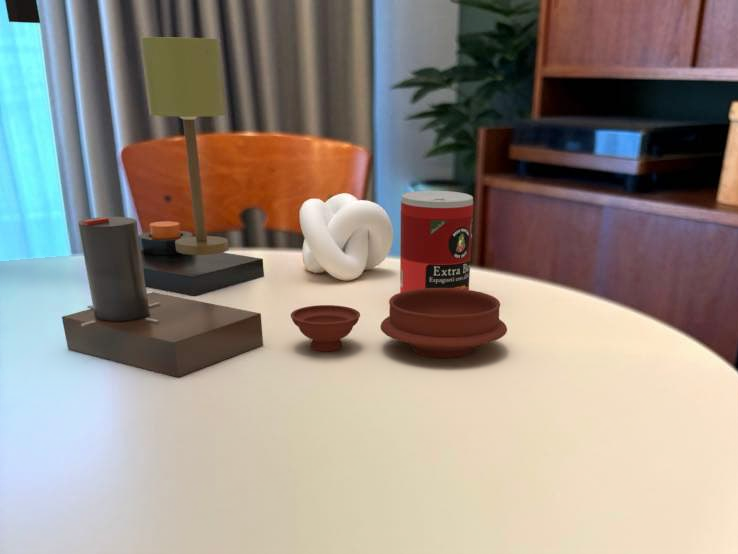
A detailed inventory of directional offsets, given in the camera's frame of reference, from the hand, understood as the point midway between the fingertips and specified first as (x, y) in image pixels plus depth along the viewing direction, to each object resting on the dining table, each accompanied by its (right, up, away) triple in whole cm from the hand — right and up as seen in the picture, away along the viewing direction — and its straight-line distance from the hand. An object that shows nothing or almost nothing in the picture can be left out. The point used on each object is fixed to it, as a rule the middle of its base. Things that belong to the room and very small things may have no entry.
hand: (24, 22), depth 87 cm
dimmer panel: (+18, -36, -10) cm, 42 cm away
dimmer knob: (+14, -34, -11) cm, 38 cm away
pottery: (+39, -36, -9) cm, 54 cm away
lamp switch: (+10, -17, +17) cm, 26 cm away
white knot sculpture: (+32, -21, +16) cm, 42 cm away
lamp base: (+13, -22, +14) cm, 29 cm away
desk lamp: (+16, -21, +9) cm, 28 cm away
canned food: (+43, -28, +6) cm, 52 cm away
